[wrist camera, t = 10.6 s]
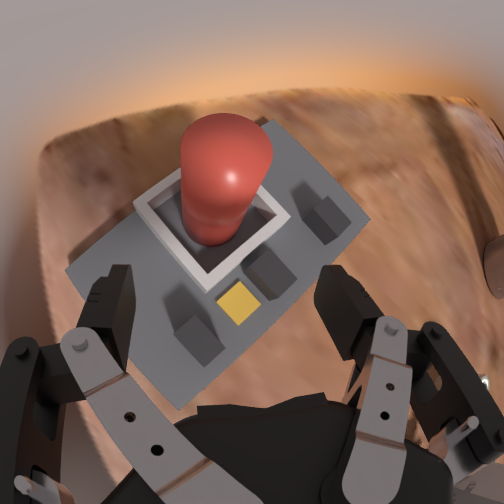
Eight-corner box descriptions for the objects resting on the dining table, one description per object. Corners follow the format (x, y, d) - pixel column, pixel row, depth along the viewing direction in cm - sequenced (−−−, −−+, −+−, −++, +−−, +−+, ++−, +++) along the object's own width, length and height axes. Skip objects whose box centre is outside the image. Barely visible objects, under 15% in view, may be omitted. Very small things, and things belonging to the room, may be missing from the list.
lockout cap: (214, 183, 24) (232, 101, 14) (250, 223, 24) (290, 156, 14) (170, 215, 22) (162, 140, 13) (208, 258, 22) (222, 206, 13)
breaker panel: (269, 127, 28) (280, 103, 25) (362, 224, 28) (385, 209, 24) (71, 273, 21) (51, 263, 17) (179, 405, 20) (177, 420, 16)
